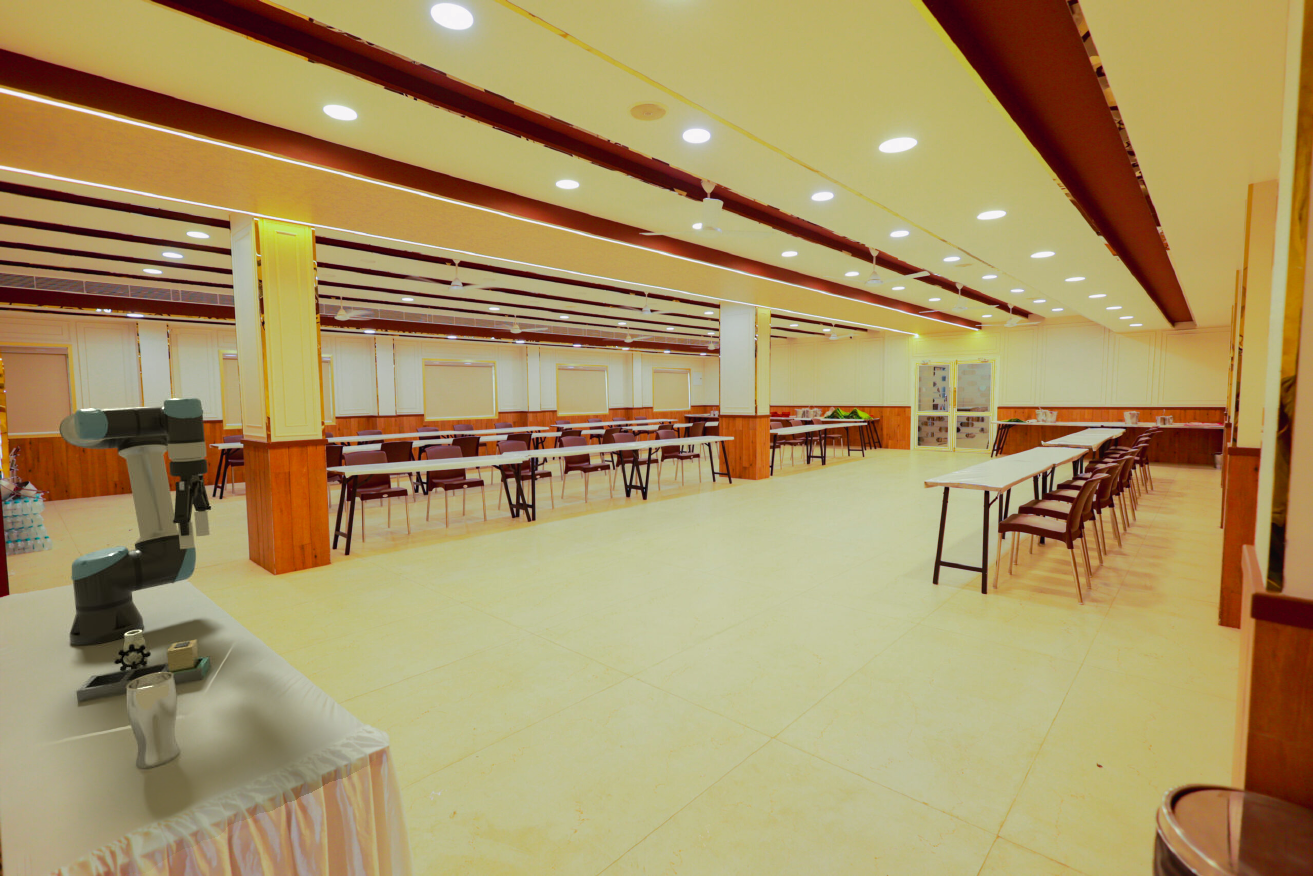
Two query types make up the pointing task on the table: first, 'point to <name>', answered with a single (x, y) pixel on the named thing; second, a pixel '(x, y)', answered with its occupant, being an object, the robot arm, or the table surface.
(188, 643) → the hollow square tube
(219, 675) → the table surface
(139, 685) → the beer glass
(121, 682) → the divided tray
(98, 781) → the table surface
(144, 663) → the valve
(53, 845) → the table surface
